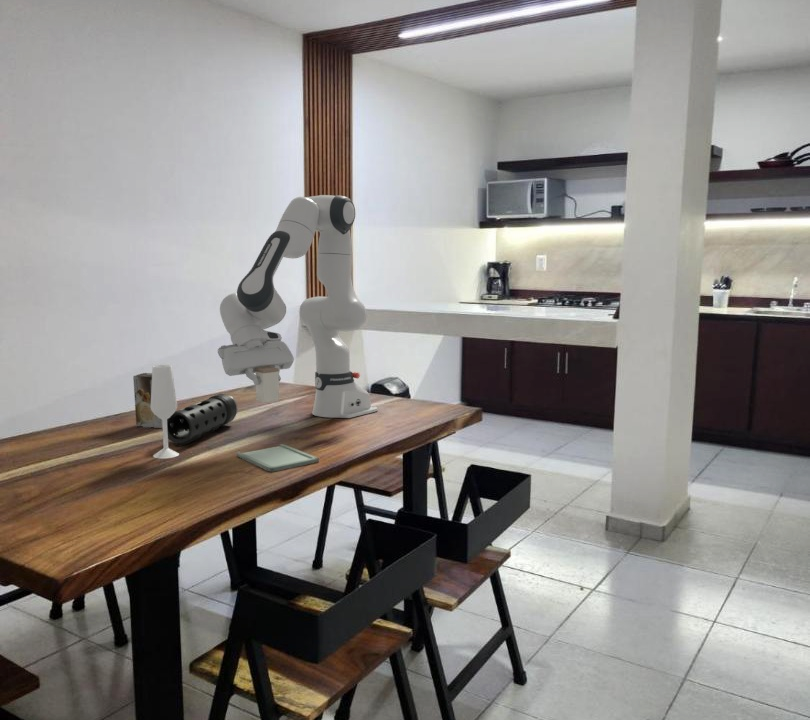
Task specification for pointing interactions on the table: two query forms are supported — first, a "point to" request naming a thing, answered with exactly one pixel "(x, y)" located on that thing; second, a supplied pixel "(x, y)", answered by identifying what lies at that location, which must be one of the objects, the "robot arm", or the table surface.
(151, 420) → the coffee box
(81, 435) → the table surface
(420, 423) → the table surface
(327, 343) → the robot arm
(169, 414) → the champagne flute
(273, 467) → the tray
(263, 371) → the canister
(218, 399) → the muzzle brake
